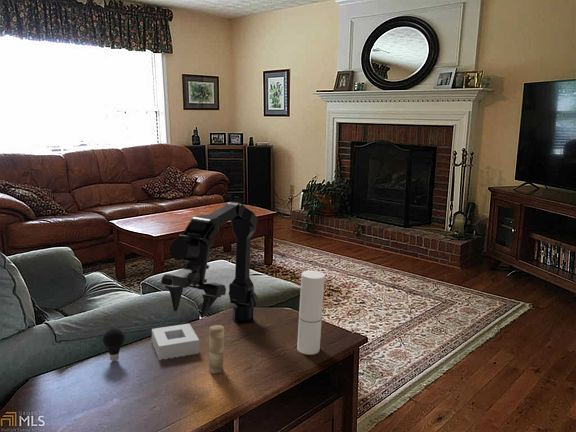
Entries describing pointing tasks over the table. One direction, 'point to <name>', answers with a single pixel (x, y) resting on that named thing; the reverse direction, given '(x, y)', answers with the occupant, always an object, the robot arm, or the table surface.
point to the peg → (216, 349)
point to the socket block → (175, 341)
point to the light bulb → (113, 342)
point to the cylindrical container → (310, 312)
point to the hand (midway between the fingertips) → (188, 314)
